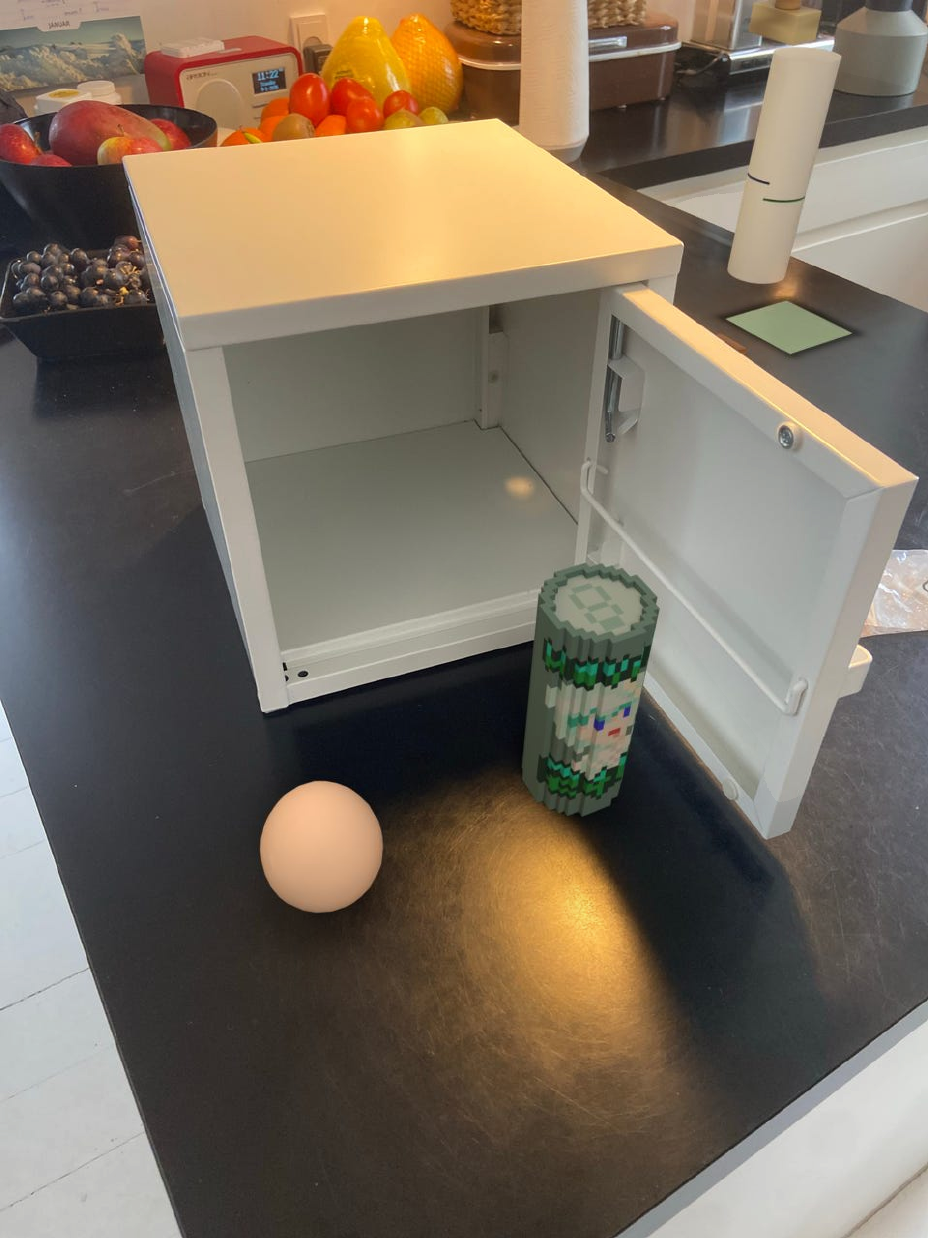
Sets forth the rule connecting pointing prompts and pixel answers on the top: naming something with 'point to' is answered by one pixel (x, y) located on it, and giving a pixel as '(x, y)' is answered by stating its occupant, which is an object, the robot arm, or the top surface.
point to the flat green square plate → (788, 326)
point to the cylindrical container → (782, 161)
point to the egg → (321, 847)
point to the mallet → (785, 21)
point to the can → (585, 685)
